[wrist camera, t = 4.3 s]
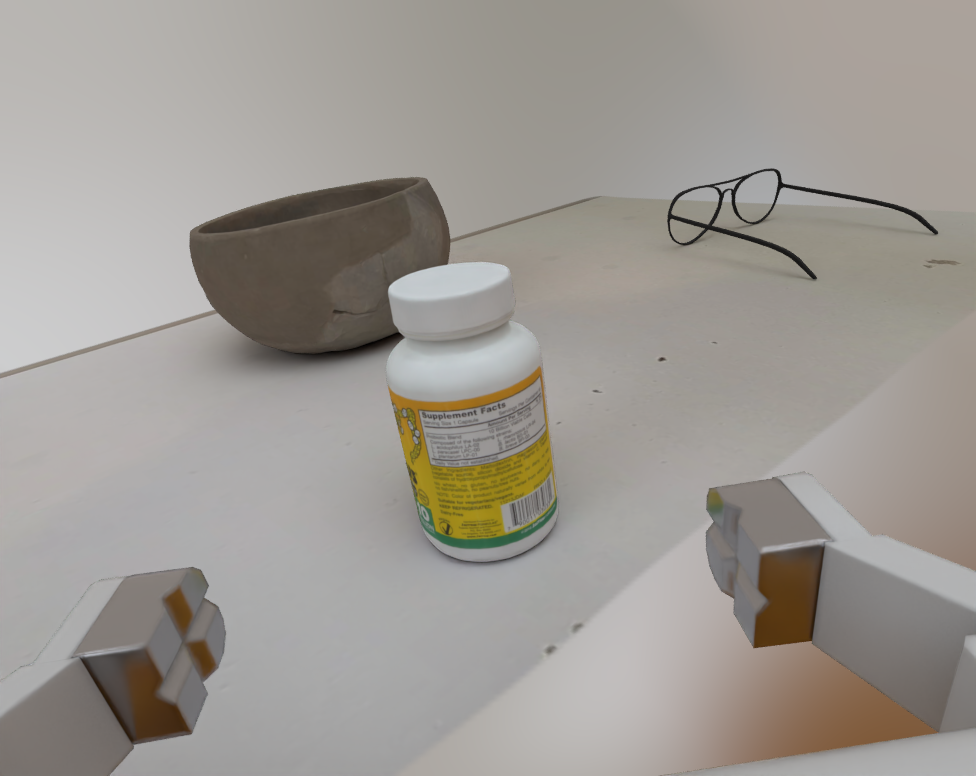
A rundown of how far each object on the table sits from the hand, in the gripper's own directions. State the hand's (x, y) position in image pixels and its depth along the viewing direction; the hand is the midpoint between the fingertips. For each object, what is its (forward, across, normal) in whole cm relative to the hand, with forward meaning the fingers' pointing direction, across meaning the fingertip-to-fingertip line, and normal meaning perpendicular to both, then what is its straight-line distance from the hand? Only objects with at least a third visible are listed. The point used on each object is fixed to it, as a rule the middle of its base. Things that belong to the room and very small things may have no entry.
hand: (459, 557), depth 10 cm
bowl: (+37, +9, +8) cm, 39 cm away
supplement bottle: (+11, 0, +8) cm, 14 cm away
